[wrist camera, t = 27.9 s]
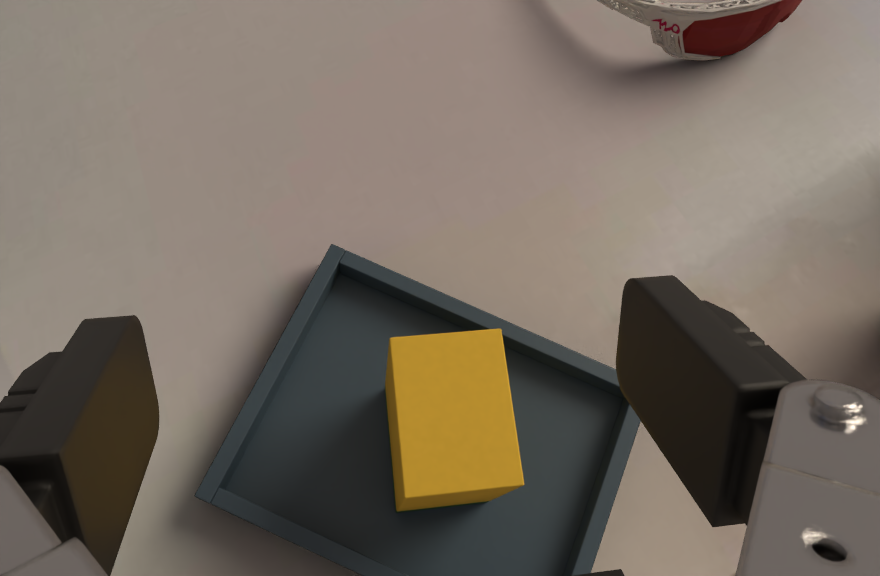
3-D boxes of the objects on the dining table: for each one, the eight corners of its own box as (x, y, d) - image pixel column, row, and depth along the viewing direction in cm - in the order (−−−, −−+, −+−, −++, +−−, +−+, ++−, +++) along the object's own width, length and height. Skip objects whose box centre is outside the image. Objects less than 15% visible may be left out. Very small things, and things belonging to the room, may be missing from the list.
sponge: (395, 513, 34) (404, 498, 26) (384, 388, 36) (389, 337, 28) (487, 502, 35) (524, 485, 26) (471, 380, 37) (501, 327, 28)
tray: (203, 499, 34) (193, 496, 32) (333, 259, 39) (331, 243, 37) (548, 661, 33) (559, 668, 31) (638, 394, 38) (652, 385, 36)
